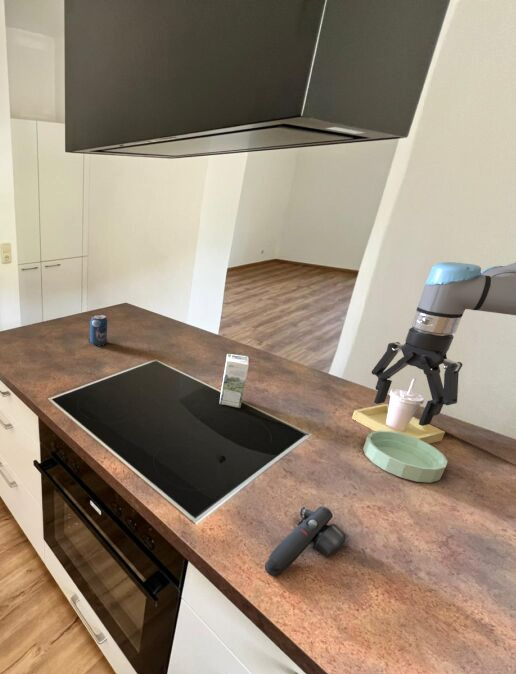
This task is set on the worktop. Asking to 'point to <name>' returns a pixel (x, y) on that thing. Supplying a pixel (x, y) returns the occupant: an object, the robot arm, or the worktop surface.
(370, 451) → the bowl
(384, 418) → the tray
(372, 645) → the worktop surface
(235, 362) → the syrup box
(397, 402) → the smoothie
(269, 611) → the worktop surface
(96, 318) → the soda can
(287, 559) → the can opener
